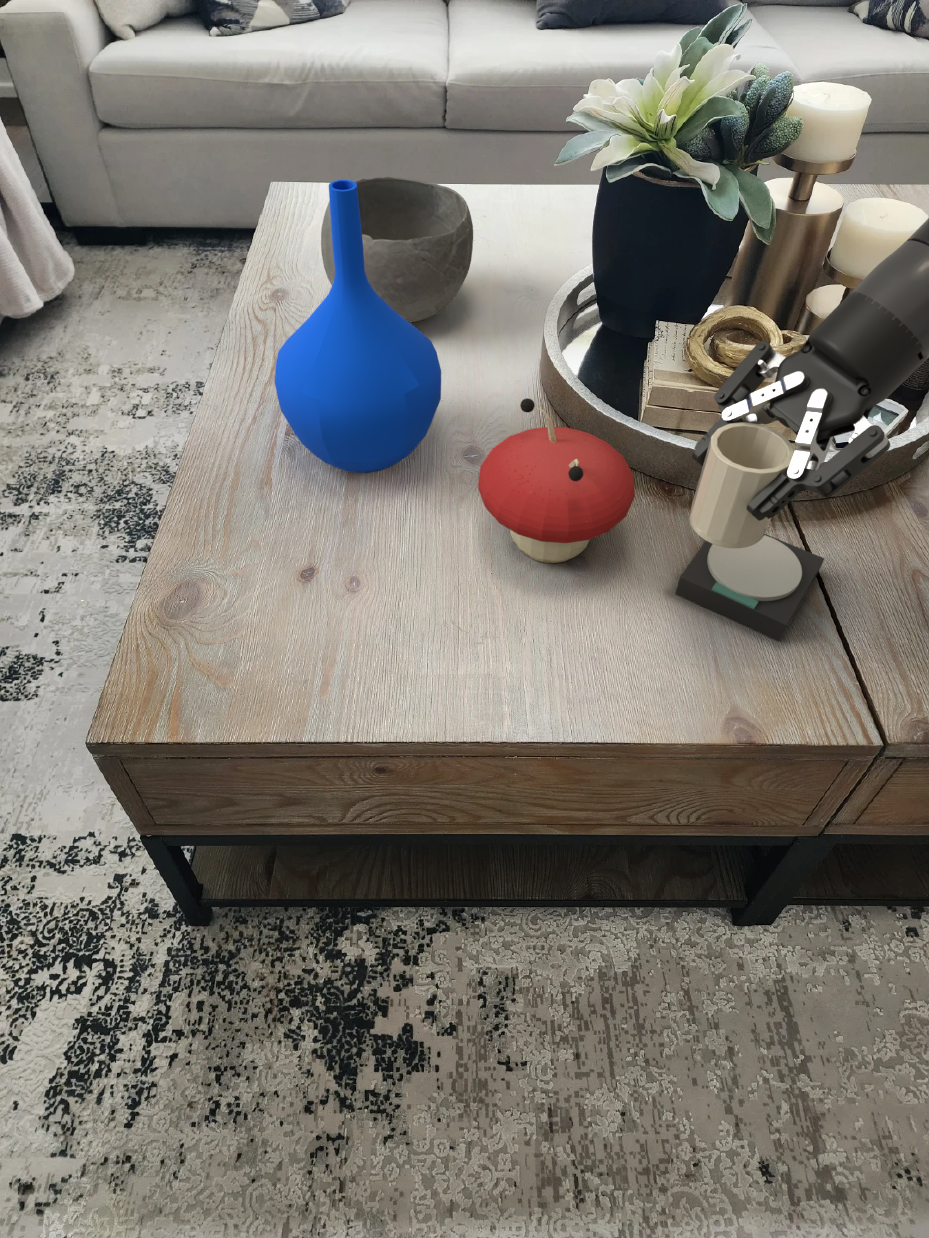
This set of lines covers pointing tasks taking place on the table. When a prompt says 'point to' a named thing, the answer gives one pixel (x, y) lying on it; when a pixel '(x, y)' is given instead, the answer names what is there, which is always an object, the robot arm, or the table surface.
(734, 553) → the kitchen scale
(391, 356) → the vase
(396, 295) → the bowl
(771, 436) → the beige cup
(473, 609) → the table surface
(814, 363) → the robot arm
